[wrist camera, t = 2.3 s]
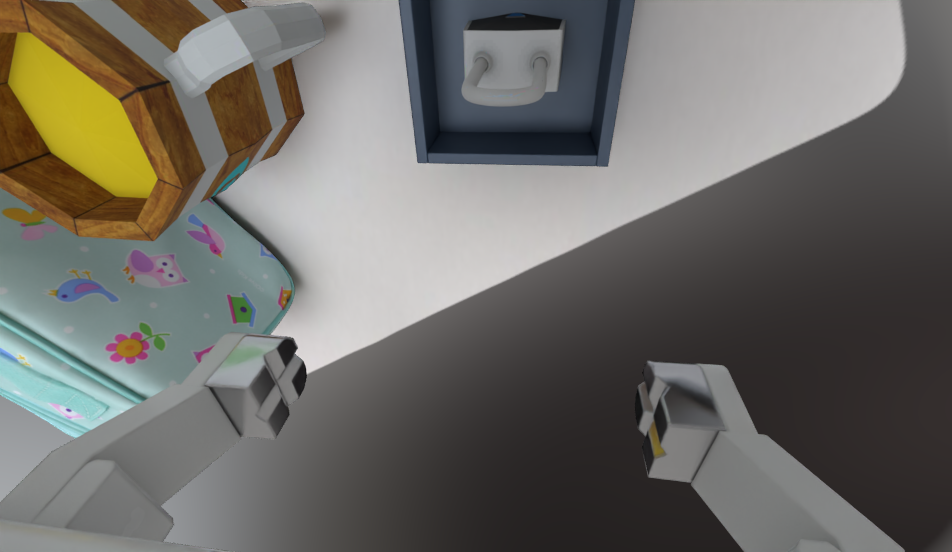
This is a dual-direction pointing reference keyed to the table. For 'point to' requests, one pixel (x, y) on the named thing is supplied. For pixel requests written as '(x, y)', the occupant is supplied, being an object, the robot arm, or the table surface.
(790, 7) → the table surface
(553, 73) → the padlock
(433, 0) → the basket
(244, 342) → the robot arm
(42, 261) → the lunch box
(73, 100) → the mug
